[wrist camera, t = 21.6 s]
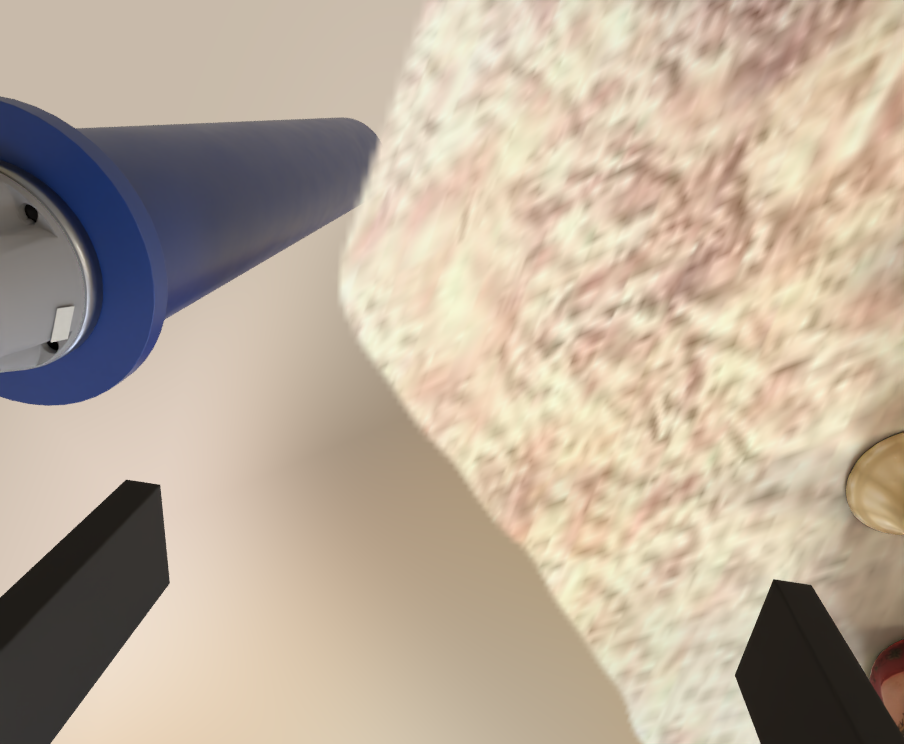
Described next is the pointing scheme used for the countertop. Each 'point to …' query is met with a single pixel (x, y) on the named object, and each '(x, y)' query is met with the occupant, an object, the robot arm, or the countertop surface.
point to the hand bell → (879, 486)
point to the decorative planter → (891, 681)
